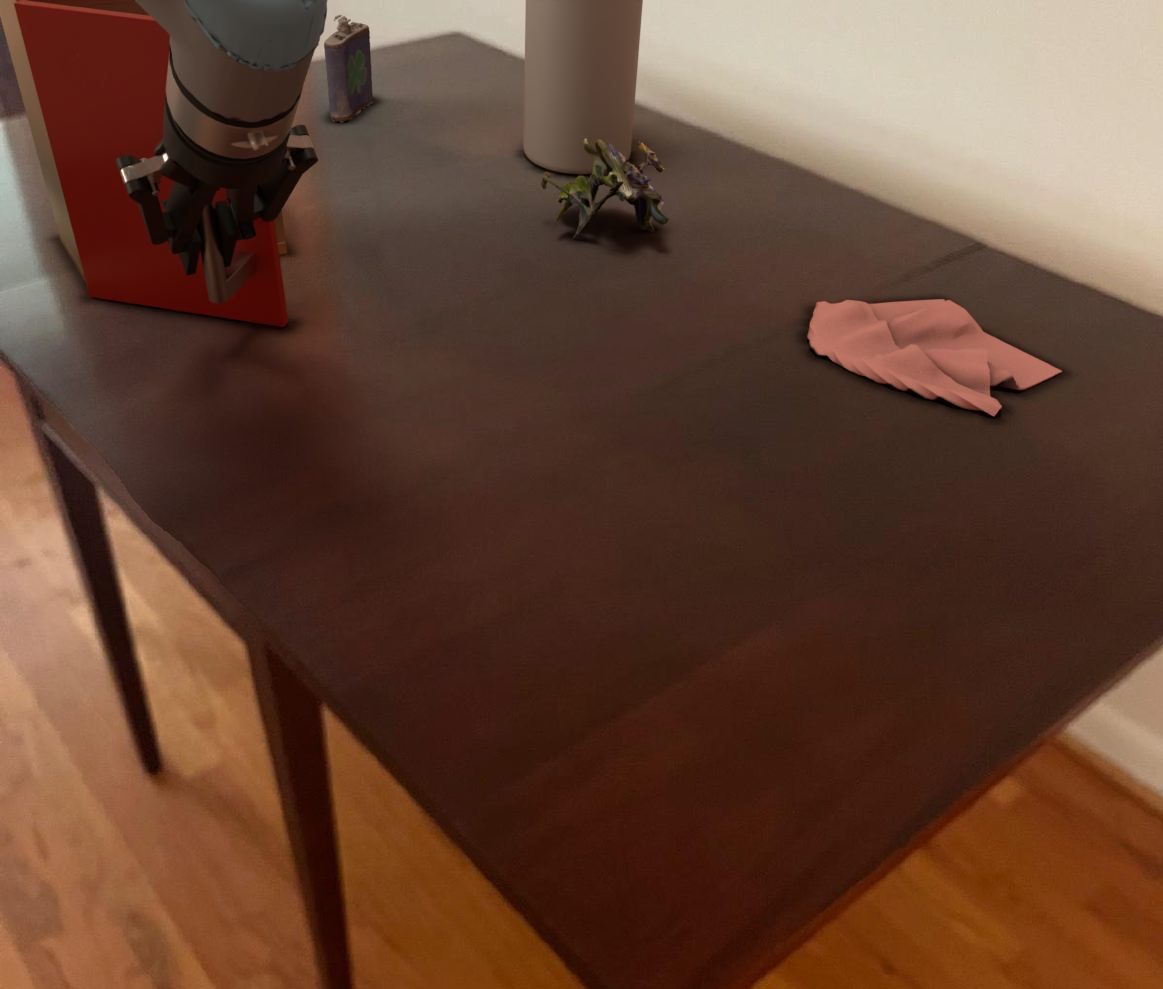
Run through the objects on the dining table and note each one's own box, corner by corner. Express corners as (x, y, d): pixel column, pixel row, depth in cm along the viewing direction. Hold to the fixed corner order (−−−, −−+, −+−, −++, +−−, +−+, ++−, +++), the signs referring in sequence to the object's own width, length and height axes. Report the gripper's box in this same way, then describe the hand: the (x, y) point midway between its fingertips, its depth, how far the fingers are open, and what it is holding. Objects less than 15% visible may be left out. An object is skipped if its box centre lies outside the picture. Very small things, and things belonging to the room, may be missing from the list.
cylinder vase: (646, 171, 129) (668, -76, 113) (543, 181, 126) (550, -73, 109) (607, 132, 138) (622, -103, 121) (509, 140, 134) (511, -101, 118)
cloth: (785, 300, 107) (789, 276, 106) (1005, 300, 109) (1013, 277, 108) (841, 419, 92) (847, 394, 90) (1096, 417, 94) (1106, 392, 93)
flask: (345, 124, 136) (336, 28, 128) (323, 120, 136) (313, 24, 129) (378, 100, 142) (371, 8, 135) (356, 97, 143) (349, 5, 136)
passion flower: (636, 277, 121) (699, 211, 111) (551, 280, 115) (610, 210, 105) (603, 186, 123) (661, 113, 113) (518, 184, 117) (572, 107, 107)
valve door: (253, 363, 94) (203, 56, 78) (49, 330, 96) (-39, 26, 80) (288, 322, 99) (249, 27, 83) (95, 291, 101) (20, -1, 85)
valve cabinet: (287, 253, 109) (251, -25, 93) (90, 292, 102) (14, -4, 85) (246, 206, 117) (206, -59, 101) (60, 239, 109) (-16, -42, 93)
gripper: (126, 186, 66) (122, 320, 88) (367, 142, 72) (308, 278, 94) (81, 65, 66) (88, 229, 88) (326, 31, 72) (277, 193, 94)
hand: (202, 254), depth 91 cm, fingers open, 2 cm apart
